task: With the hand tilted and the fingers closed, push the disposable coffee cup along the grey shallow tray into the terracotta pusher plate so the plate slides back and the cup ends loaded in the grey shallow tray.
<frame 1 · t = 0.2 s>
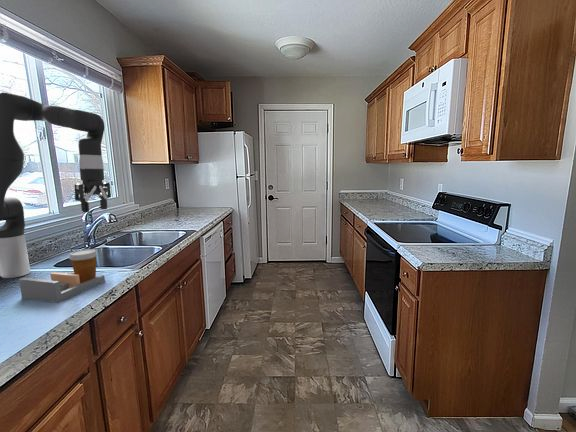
hand: (95, 210, 114), 29 cm above the worktop, tool pointing down, fingers open, 8 cm apart
disposable coffee cup: (86, 281, 121), on the worktop
grey shallow tray: (68, 288, 113), on the worktop
pusher plate: (62, 282, 111), point 3 cm above the worktop, slide at 0.0 cm
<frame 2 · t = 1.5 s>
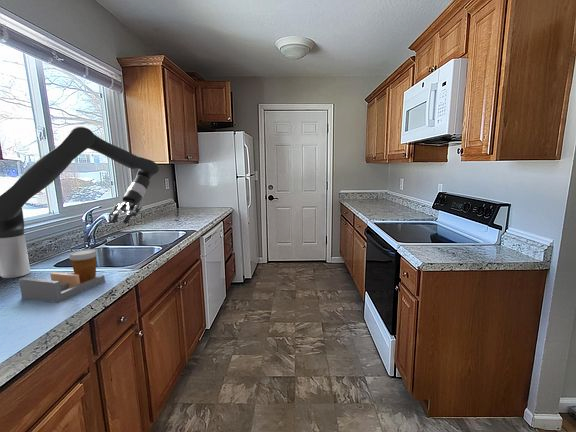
hand: (118, 222, 136), 20 cm above the worktop, tool tilted 45°, fingers open, 6 cm apart
nothing on the worktop moved.
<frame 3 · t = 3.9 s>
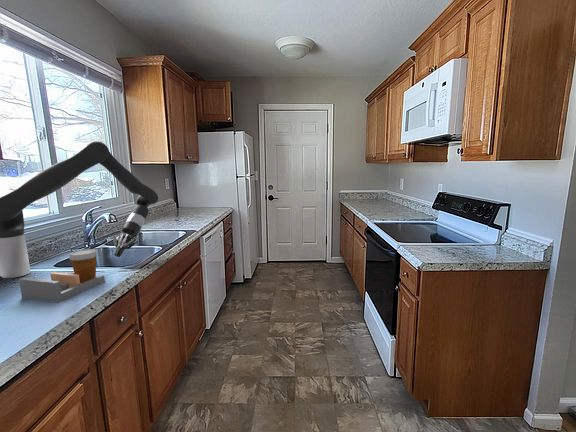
hand: (116, 256, 136), 5 cm above the worktop, tool tilted 45°, fingers closed
nothing on the worktop moved.
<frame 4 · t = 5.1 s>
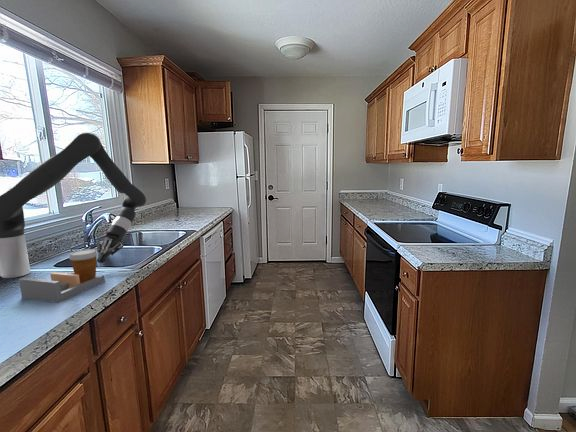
hand: (99, 262, 127), 5 cm above the worktop, tool tilted 45°, fingers closed
nothing on the worktop moved.
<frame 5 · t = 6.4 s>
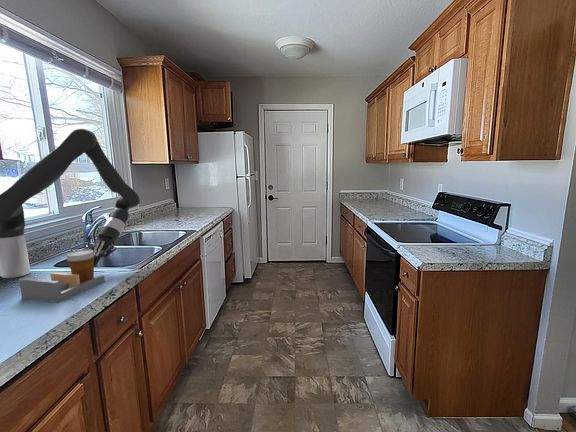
hand: (92, 265, 123), 5 cm above the worktop, tool tilted 45°, fingers closed
disposable coffee cup: (84, 281, 120), on the worktop, touching gripper
everything else where it was.
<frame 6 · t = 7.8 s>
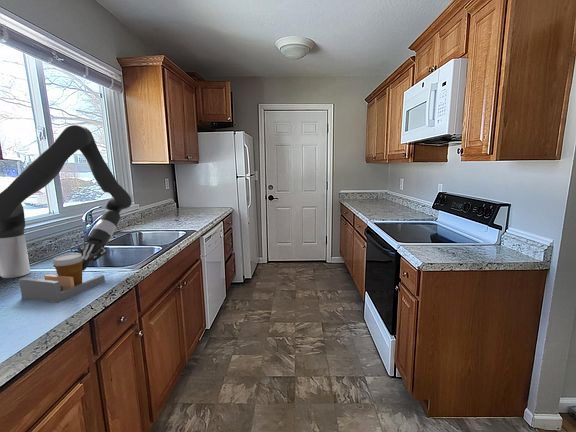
hand: (80, 269, 118), 5 cm above the worktop, tool tilted 45°, fingers closed
disposable coffee cup: (72, 287, 115), on the worktop, touching gripper
pusher plate: (56, 284, 109), point 3 cm above the worktop, slide at 2.3 cm
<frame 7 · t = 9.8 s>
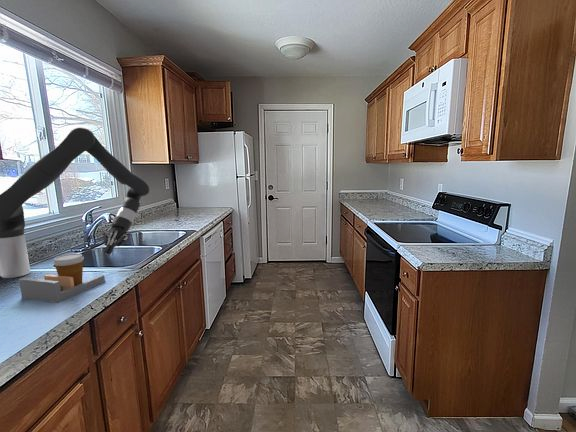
hand: (106, 253, 132), 8 cm above the worktop, tool tilted 40°, fingers closed
disposable coffee cup: (72, 287, 115), on the worktop
everything else where it was.
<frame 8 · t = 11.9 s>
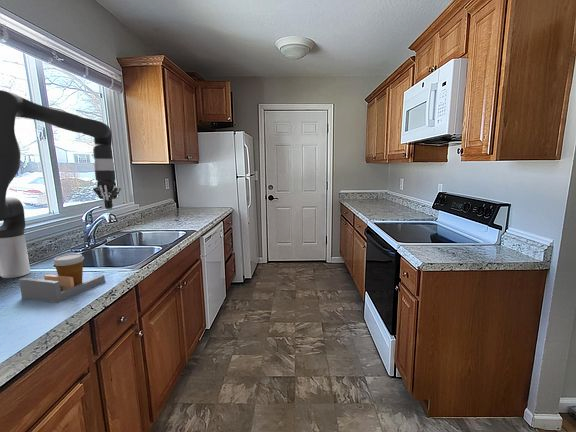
hand: (109, 208, 133), 27 cm above the worktop, tool pointing down, fingers closed
nothing on the worktop moved.
at the end: pusher plate slide at 2.3 cm; disposable coffee cup inside the target area (1.6 cm from its centre), on the worktop; disposable coffee cup tilted 0° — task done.
